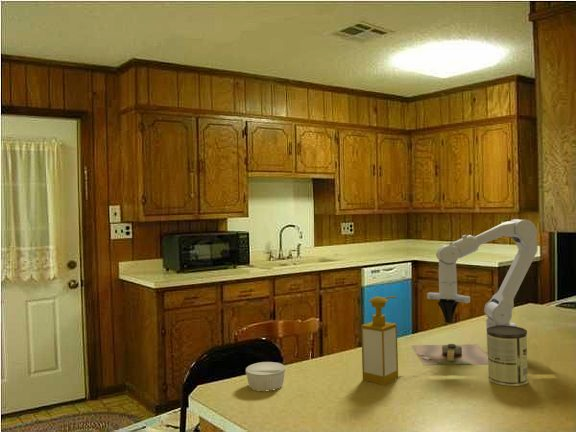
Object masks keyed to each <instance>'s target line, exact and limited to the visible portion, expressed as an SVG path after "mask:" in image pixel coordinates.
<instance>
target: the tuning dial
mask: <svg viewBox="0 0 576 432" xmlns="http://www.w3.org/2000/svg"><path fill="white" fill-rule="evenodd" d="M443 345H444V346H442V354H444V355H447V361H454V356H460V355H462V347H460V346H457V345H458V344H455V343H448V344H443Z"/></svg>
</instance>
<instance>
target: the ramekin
mask: <svg viewBox="0 0 576 432" xmlns="http://www.w3.org/2000/svg"><path fill="white" fill-rule="evenodd" d="M285 372H286V366H285V365H284V364H282V363H281V362H273V361H261V362H256V363H253V364H252V363H251V364H250V365H248V366H247V367H245V374H246V378H247V384H248V387H249V388H250V389H251V388H252V389H251V390H253V389H254V390H253V391H255V390H260V391H266V390H273V389H277V388H279V389H280V387H281V388H282V387H283V385H284V383H285V382H284V380H285V374H286V373H285ZM277 390H278V389H277ZM260 391H259V392H260Z"/></svg>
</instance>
